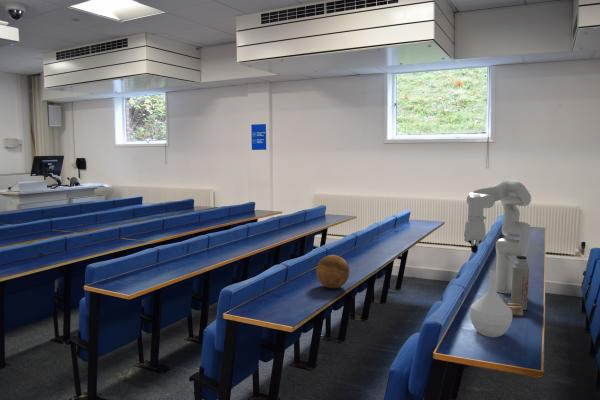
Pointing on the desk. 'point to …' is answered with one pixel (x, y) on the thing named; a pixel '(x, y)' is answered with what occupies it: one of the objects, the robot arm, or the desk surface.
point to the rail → (515, 308)
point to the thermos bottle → (520, 282)
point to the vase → (491, 312)
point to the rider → (504, 300)
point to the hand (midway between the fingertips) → (474, 252)
